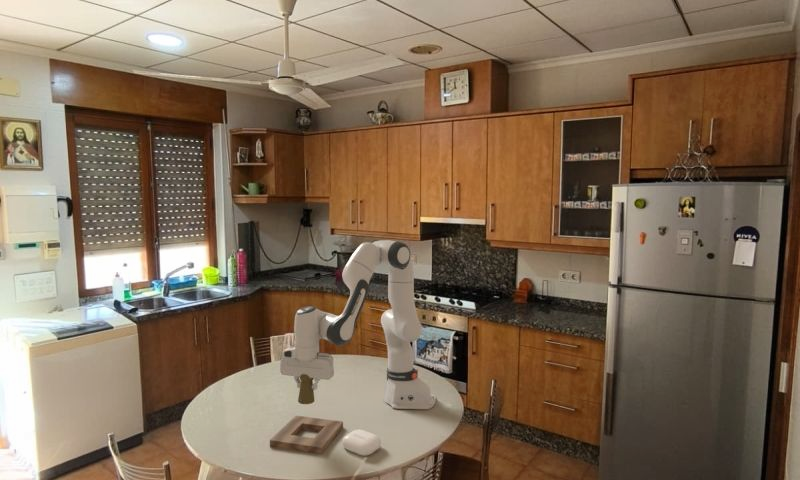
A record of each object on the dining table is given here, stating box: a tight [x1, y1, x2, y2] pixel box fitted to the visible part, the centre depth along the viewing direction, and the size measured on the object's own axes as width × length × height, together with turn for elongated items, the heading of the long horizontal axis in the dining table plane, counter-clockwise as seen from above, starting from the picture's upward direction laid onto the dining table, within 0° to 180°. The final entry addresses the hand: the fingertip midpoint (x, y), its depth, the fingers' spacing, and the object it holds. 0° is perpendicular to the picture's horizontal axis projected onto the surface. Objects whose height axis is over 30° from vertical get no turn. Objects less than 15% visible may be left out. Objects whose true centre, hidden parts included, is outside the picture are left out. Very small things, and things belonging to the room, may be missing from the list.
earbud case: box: [342, 428, 382, 457], centre depth 169 cm, size 10×13×5 cm
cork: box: [297, 374, 315, 405], centre depth 175 cm, size 6×6×11 cm
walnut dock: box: [269, 415, 344, 455], centre depth 176 cm, size 20×20×3 cm
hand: (307, 388), depth 175 cm, fingers closed on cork, 4 cm apart
